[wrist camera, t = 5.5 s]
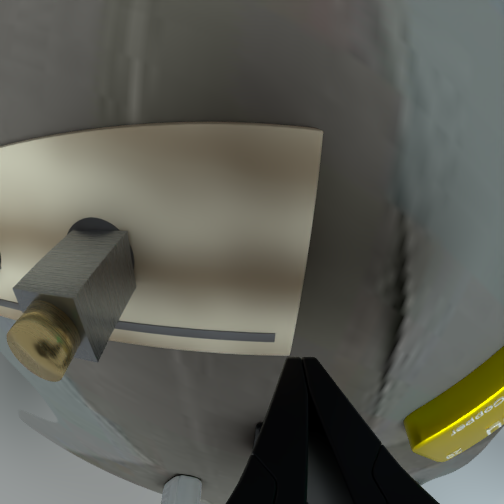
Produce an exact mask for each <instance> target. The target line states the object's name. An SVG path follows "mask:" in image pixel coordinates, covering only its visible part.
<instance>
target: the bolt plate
mask: <svg viewBox="0 0 504 504" xmlns="http://www.w3.org/2000/svg"><path fill="white" fill-rule="evenodd" d="M322 139H323V131H321V130H319V129H317V128H311V127H302V126H291V125H279V124H264V123H243V122H169V123H149V124H135V125H123V126H112V127H103V128H95V129H87V130H80V131H73V132H67V133H60V134H55V135H49V136H44V137H39V138H34V139H29V140H24V141H20V142H15V143H11V144H7V145H3V146H0V316H3V317H7V318H10V319H14V320H18V319H19V317H20V316H21V315H22V314H23V313H22V311H21V308H20V306H19V304H18V301H17V299H16V296H15V294H14V291H13V289H12V288H13V287H14V286H15V285H16V284H17V283H18V282H19V281H20V280H21V279H22V278H23V277H24V276H25V275H26V274H27V273H28V272H29V271H30V270H31V269H32V268H33V267H34V266H35V265H36V264H37V263H38V262H39V261H40V260H41V259H42V258H43V257H44V256H45V255H46V254H47V253H48V252H49V251H50V250H51V249H52V248H53V247H54V246H56V245H57V244H58V243H59V242H60V241H61V240H62V239H63V238H64V237H65V236H67V235H68V234H69V233H70V232H71V231H72V230H73V229H80V230H115V231H127V232H128V239H129V246H130V252H131V259H132V265H133V270H134V276H135V282H136V289H135V291H134V292H133V294H132V296H131V298H130V300H129V302H128V304H127V305H126V307H125V309H124V311H123V313H122V315H121V317H120V319H119V321H118V323H117V324H116V326H115V328H114V330H113V332H112V334H111V336H110V338H109V340H111V341H117V342H124V343H130V344H137V345H145V346H152V347H160V348H169V349H178V350H188V351H199V352H212V353H227V354H245V355H273V356H290V352H291V347H292V342H293V336H294V331H295V326H296V321H297V315H298V310H299V304H300V299H301V293H302V287H303V281H304V275H305V269H306V263H307V256H308V250H309V243H310V236H311V229H312V222H313V215H314V208H315V200H316V192H317V184H318V176H319V167H320V158H321V149H322Z"/></svg>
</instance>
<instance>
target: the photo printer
mask: <svg viewBox="0 0 504 504" xmlns="http://www.w3.org/2000/svg"><path fill="white" fill-rule="evenodd" d="M201 488H202V482H201V481H199V479H197V478H194V477H191V476H185V475H181V476H176V477H174V478H172V479H171V480H170V481H168V482H167V483H166V484H165V486H164V489H163V495H162V501H161V504H200V499H201Z"/></svg>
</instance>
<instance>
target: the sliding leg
mask: <svg viewBox="0 0 504 504" xmlns="http://www.w3.org/2000/svg"><path fill="white" fill-rule="evenodd" d="M12 289H13V291H14V294H15V296H16V299H17V301H18V304H19V306H20V308H21V311H22V313H23V314H22V315H21V316H20V317H19V319H18V320H17V321H16V322H15V324H14V325H13V326H12V328H11V329H10V330H9V332H8V333H7V342H8V345H9V347H10V349H11V351H12V352H13V354H14V355H15V357H16V358H17V359H18V360H19V361H20V362H21V363H22V364H23V365H24V366H25V367H26V368H27V369H28V370H30V371H31V372H32V373H34V374H35V375H37V376H39V377H41V378H43V379H45V380H48V381H53V382H56V381H60V380H61V379H62V377H63V375H64V374H65V372H66V370H67V368H68V366H69V364H70V362H71V360H72V358H73V357H76V358H80V359H84V360H89V361H93V362H98V361H99V359H100V357H101V355H102V353H103V350H104V348H105V346H106V344H107V342H108V340H109V338H110V336H111V334H112V332H113V330H114V328H115V326H116V324H117V323H118V321H119V319H120V317H121V315H122V313H123V311H124V309H125V307H126V305H127V304H128V302H129V300H130V298H131V296H132V294H133V292H134V291H135V289H136V282H135V276H134V270H133V265H132V259H131V252H130V246H129V239H128V232H127V231H115V230H80V229H73V230H72V231H71V232H70V233H69V234H68V235H67V236H65V237H64V238H63V239H62V240H61V241H60V242H59V243H58V244H57V245H56V246H54V247H53V248H52V249H51V250H50V251H49V252H48V253H47V254H46V255H45V256H44V257H43V258H42V259H41V260H40V261H39V262H38V263H37V264H36V265H35V266H34V267H33V268H32V269H31V270H30V271H29V272H28V273H27V274H26V275H25V276H24V277H23V278H22V279H21V280H20V281H19V282H18V283H17V284H16V285H15V286H14V287H13V288H12Z"/></svg>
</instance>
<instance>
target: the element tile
mask: <svg viewBox="0 0 504 504" xmlns="http://www.w3.org/2000/svg"><path fill="white" fill-rule="evenodd" d="M503 424H504V346H503V347H502V348H501V349H500V350H499V351H497V352H496V353H495V354H494V355H493V356H491V357H490V358H489V359H488V360H487V361H485V362H484V363H483V364H482V365H480V366H479V367H478V368H477V369H475V370H474V371H473V372H471V373H470V374H469V375H467V376H466V377H465V378H463V379H462V380H461V381H459V382H458V383H456V384H455V385H454V386H452V387H451V388H449V389H448V390H446V391H445V392H443V393H442V394H440V395H439V396H437V397H436V398H434V399H433V400H431V401H430V402H428V403H426V404H425V405H423V406H422V407H420V408H418V409H417V410H415V411H414V412H412V413H411V414H409V415H408V416H407V417H406V418H405V420H404V426H405V429H406V433H407V436H408V439H409V443H410V446H411V449H412V451H413V452H414V453H416V454H419V455H421V456H424V457H426V458H429V459H432V460H434V461H437V462H445V461H447V460H449V459H451V458H453V457H455V456H456V455H458V454H460V453H461V452H463V451H465V450H466V449H468V448H470V447H471V446H473V445H474V444H476V443H477V442H479V441H481V440H482V439H484V438H485V437H487V436H488V435H490V434H491V433H492V432H494V431H495V430H497V429H498V428H499V427H501V426H502V425H503Z"/></svg>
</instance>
